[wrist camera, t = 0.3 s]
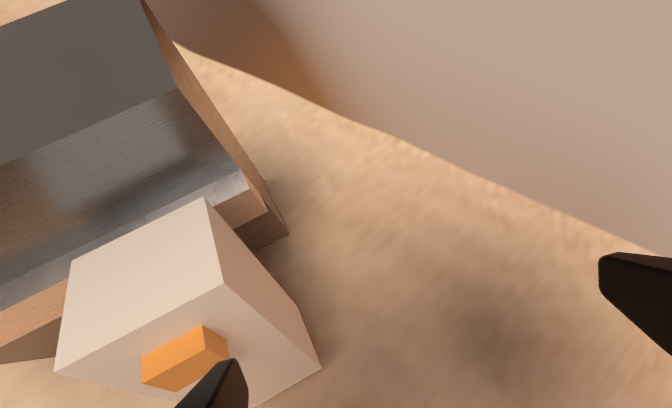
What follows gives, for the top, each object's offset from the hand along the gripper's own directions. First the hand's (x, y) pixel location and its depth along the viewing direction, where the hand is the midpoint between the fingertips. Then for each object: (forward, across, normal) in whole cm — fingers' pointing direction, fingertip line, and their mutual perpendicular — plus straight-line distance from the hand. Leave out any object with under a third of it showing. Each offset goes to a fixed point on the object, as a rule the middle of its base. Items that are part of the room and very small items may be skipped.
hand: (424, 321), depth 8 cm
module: (+9, +7, +7) cm, 14 cm away
